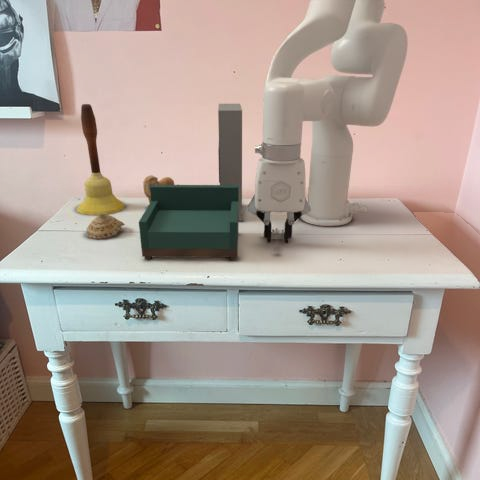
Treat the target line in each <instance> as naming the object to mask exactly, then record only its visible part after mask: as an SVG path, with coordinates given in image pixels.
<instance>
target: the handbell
mask: <svg viewBox="0 0 480 480" xmlns="http://www.w3.org/2000/svg"><path fill="white" fill-rule="evenodd" d="M80 107H81V108H80V109H81V110H80V112H81V113H80V120H81V129H82V134H83V136H84V138H85V140H86V145H87V149H88V150H87V151H88V157H89V165H90V170H91V174H90V177H89V178H87V179H86V180H85V181H84V192H85V197H84V199H83V201H82V202H81V203H80V204H79V205H77V208H76V211H77V212H78V213H80V214H82V215H88V216H99V215H101V214H105V215H110V214H115V213H118V212H121V211H123V210H124V209H125V207H126V205H125V203H124V202H123V201H122V200H120V199H118V198H117V196H115V194H113V187H112V183H111V181H110V179H108V178H107V177H105V176H104V175H103V174H102V173H101V167H100V166H101V165H100V159H99V153H98V146H97V137H98V127H97V122H96V121H97V119H96V115H95V113H94V110H93V107H92V105H91V104H90V103H83V104H81V106H80Z"/></svg>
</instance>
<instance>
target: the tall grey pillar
mask: <svg viewBox="0 0 480 480" xmlns="http://www.w3.org/2000/svg"><path fill="white" fill-rule="evenodd" d="M217 115H218V117H217V118H218V149H217V150H218V152H217V153H218V183H219V185H239V222H242V221H243V109H242V105H241V103H218V110H217Z"/></svg>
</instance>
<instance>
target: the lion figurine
mask: <svg viewBox="0 0 480 480" xmlns="http://www.w3.org/2000/svg"><path fill="white" fill-rule="evenodd" d="M142 183H143V184H142V187H143V192H144V195H145V197H146V198H147V199H148V203H149V204H150V202H151V194H150V186H151V185H175V182H174V179H173V178H172V177H170V176H165V177H163V178H161V179H160V180H158V177H156V176H155V175H147V176H145V178H144V180H143V182H142Z"/></svg>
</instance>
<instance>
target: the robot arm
mask: <svg viewBox="0 0 480 480" xmlns="http://www.w3.org/2000/svg"><path fill="white" fill-rule="evenodd" d="M384 10H385V0H309V3H308V6H307V11H306V14H305V17H304V19H303V20H302V22H300V23H299V24H298V25H297V26H296V27H295V28H294V29H293V30H292V31H291V32H290V34H289V35H287V36H286V38H285V39H284V41H283V42H282V43H281V44H280V45H279V46H278V48H277V50H276V51H275V53H274V55H273V57H272V58H271V62H270V65H269V68H268V72H267V76H266V79H265V83H264V88H263V93H262V103H263V104H262V105H263V106H262V107H263V109H262V143H260V144H259V145H255V146H254V153H255V154H259V155H260V156H261V157H260V158H259V159H258V162H257V166H256V174H255V184H254V195H253V196H252V198H251V200H250V202H249V204H248V205H247V209H246V210H247V212H248V213H250V214H252V215H254V216H256V217H257V218H258V219H259V220H260V221H261V222H262V223H263V225H264V227H263V238H264V239H266V241H267V244H271V243H272V239H271V232H272V221H271V213H286V216H287V217H286V219H285V221H284V229H283V230H284V239H283V241H284V244H289V239H292V237H293V226H294V224H295V223H296V221H298V220H299V219H301V220H302V221H303V222H305V223H307V224H311V225H315V226H320V227H321V226H322V227H338V226H344V225H347V224H349V223H350V222H351V221H352V218H353V213H358V214H366V212H367V205H366V204H360V203H359V202H350V201H349V199H348V198H349V197H348V196H349V189H350V188H349V187H350V179H351V173H352V172H351V170H352V161H353V153H354V140H353V137H352V134H351V132H350V130H349V127H348V125H349V126H360V127H369V128H370V127H371V128H373V127H378V126H380V125H382V124H383V123H384V122H385V121H386V119H387V117H388V115H389V113H390V111H391V107H392V105H393V102H394V98H395V95H396V91H397V88H398V85H399V82H400V79H401V76H402V72H403V69H404V66H405V62H406V58H407V53H408V47H409V46H408V45H409V44H408V34H407V31H406V29H405V28H404V26H402V25H401V24H398V23H394V22H381V21H382V17H383V14H384ZM330 45H332V48H331V50H330V51H331V52H330V64H331V66H332V68H333V70H335V71H337V72H338V73H342V74H348V75H338V74H337V75H327V76H324V77H322V78H320V79H317V78H303V77H301V78H300V77H292V76H293V74H294V72H295V70H296V69H297V67H298V66H299V65H300V64H301V63H302V62H303V61H304V60H305V59H306V58H308V57H309V56H310V55H313V54H314V53H316V52H318V51H320V50H322V49H325V47H328V46H330ZM349 74H350V75H349ZM356 75H370V76H356ZM304 122H311V148H310V160H309V161H310V162H309V176H308V191H307V197H306V186H307V185H306V184H307V183H306V179H307V177H306V165H305V160H304V159H303V158H301V155H302V154H301V153H302V136H303V123H304Z"/></svg>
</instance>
